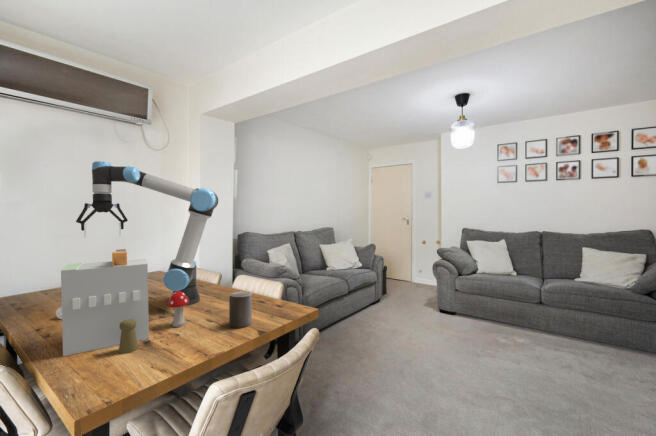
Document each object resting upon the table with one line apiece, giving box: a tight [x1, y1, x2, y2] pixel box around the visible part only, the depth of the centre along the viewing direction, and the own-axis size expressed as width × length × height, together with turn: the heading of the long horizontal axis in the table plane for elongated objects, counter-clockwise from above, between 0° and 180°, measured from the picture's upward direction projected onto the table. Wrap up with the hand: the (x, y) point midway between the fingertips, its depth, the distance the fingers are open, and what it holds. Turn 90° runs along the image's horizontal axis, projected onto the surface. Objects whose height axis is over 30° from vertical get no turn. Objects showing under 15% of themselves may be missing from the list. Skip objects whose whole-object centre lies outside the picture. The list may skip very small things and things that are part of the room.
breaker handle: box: [111, 248, 128, 266], centre depth 125 cm, size 26×5×5 cm, turn 33°
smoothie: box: [55, 305, 62, 320], centre depth 145 cm, size 6×6×14 cm
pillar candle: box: [228, 290, 253, 329], centre depth 135 cm, size 10×10×15 cm
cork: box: [118, 319, 139, 355], centre depth 111 cm, size 6×6×11 cm
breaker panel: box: [60, 258, 150, 357], centre depth 119 cm, size 17×26×30 cm, turn 124°
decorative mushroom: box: [167, 291, 189, 328], centre depth 135 cm, size 10×9×15 cm
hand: (103, 236), depth 148 cm, fingers open, 13 cm apart
